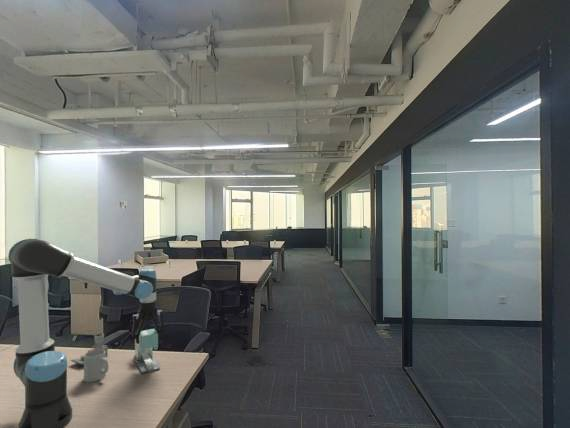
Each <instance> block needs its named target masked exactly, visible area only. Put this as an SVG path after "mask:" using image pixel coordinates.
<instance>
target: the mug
mask: <svg viewBox="0 0 570 428" xmlns="http://www.w3.org/2000/svg"><path fill="white" fill-rule="evenodd" d="M83 355H84V364H83V381H84V382H87V383H93V382H97V381H101V380H102V379H104V378H105V377H106V376H107V375H106V374H107V373H108V371H109V361H108V359H107V356H106V351H105V350H103V349H98V350H92V351H89V352H88V351H87V352H86V353H84V354H83Z"/></svg>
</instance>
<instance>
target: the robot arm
mask: <svg viewBox="0 0 570 428" xmlns="http://www.w3.org/2000/svg"><path fill="white" fill-rule="evenodd" d="M7 256H8V261H9V263H10V264H11V278H12V279H13V280H16V281H17V290H18V291H17V293H18V295H17V296H18V317H19V319H18V320H19V337H20V338H19V339H20V344H19V346H17V347H16V349H14V350H15V358H14V360H13V372H14V375H15V376H16V377H17V378H18V379H19V380H20V382H21V383H22V384H23V386H24V390H25V391H24V395H25V396H24V398H25V399H24V403H25V406H24V407H25V408H24V409H23V413H22V415H21V417H20V420H19V424H18V428H64V427H65V426H66V425H67V424H68V423H70V421H71V420H72V418H73V407H72V404H71V402H70V400H69V398H68V394H67V389H68V387H67V385H68V383H67V382H68V379H67V378H68V370H67V369H68V360H67V355H66V353H64V352H62V351H59V350H58V351H56V347H55V340H54V339H52V338H51V337H50V324H49V322H50V321H49V300H48V299H49V298H48V276H52V277H55V278H61V277H66V278H70V279H73V280H77V281H80V282H83V283H88V284H91V285H94V286H97V287H100V288H104V289H108V290H110V291H112V292H113V294H114V295H117V296H119V295H121V296H122V295H124V294H125V295H128V296H130V297H135V298H137V299H139V310H138V311H139V312H138V313H136V314H132V319H133V321H132V328H131V336H132V338H134V337H135V340H136V343H137V344H138V349H139V351H141V336H140V333H141V331H143V327H144V324H145V322H146V321H152V323H153V325H154V329H155V331H156V332H157V334H158V340H160V339H161V333H162V332H164V331H165V327H164V320H163V315H164V311H163V310H162V309H159V310H158V309H157V271H156V270H155V269H154V268H144V269H141V270H139V272H138V274H136V275H129V274H126V273H123V272H121V271H118V270H114V269H112V268H108V267H106V266H103V265H100V264H97V263H94V262H91V261H88V260H85V259H83V258H79V257H77V256H74V254H73V252H70V251H68V250H65V249H63V248H61V247H59V246H57V245H55V244H53V243H52V242H49V241H46V240H42V239H38V238H26V239H25V238H24V239H22V240H19V241H16V243H15V244H13V245H12V246H11V248H10V249H9V252H8V255H7ZM156 315H158V320H159V321H158V322H159V325H158V323H157V320H156V318H155V316H156ZM139 317H140V323H139V325H138V328H137V322H138V319H139ZM136 329H137V330H136Z"/></svg>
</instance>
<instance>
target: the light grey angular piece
mask: <svg viewBox="0 0 570 428" xmlns="http://www.w3.org/2000/svg"><path fill="white" fill-rule="evenodd" d="M153 350H154V348H153V347H150V348H146V349H145V352H144V353H142V352H141V351H139V349H138V344H137V343H136V339H134V355H133V358H134V361H135V362H136V364H137V366H138V369H139V372H140V374H141V375H145V374H148V373H151V372H155V371H160V370H161V369H160V366H159V364H158V362H157V360H156V359H155V357H154V355H153V352H154V351H153Z"/></svg>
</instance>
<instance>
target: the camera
mask: <svg viewBox="0 0 570 428" xmlns="http://www.w3.org/2000/svg"><path fill="white" fill-rule="evenodd" d="M93 337H94V344H95V345H94V347H93V348H90V349H89V350H87V352H89V351H92V350H98V349H103V350H105V351H106V357H107V356H108V354H109V352H108V350H109V349H108V345H105V343H104V339H105V334H104V333H102V332H100V333H96V334H94V336H93ZM84 355H85V354H83V355H81V356H80V357H79V358H73V359H71V360H70V362H73V363H75V364H78V365H80V366H81V365H83V366H84Z"/></svg>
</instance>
